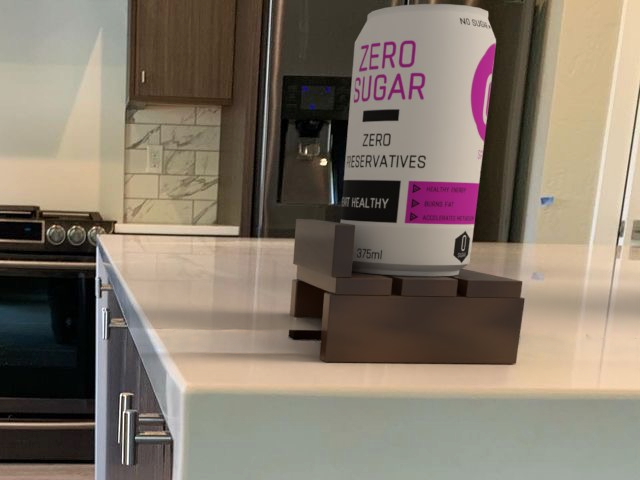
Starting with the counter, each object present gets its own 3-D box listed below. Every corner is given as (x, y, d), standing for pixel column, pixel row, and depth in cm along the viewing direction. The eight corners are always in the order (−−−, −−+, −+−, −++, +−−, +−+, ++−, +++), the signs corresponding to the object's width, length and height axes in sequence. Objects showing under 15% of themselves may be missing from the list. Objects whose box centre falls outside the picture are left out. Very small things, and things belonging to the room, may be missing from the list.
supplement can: (469, 270, 63) (499, 24, 59) (465, 280, 56) (499, -1, 52) (347, 264, 66) (367, 28, 62) (328, 272, 58) (348, 4, 54)
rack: (453, 339, 68) (466, 223, 65) (516, 364, 58) (534, 229, 56) (288, 337, 67) (295, 218, 64) (324, 362, 57) (335, 224, 55)
